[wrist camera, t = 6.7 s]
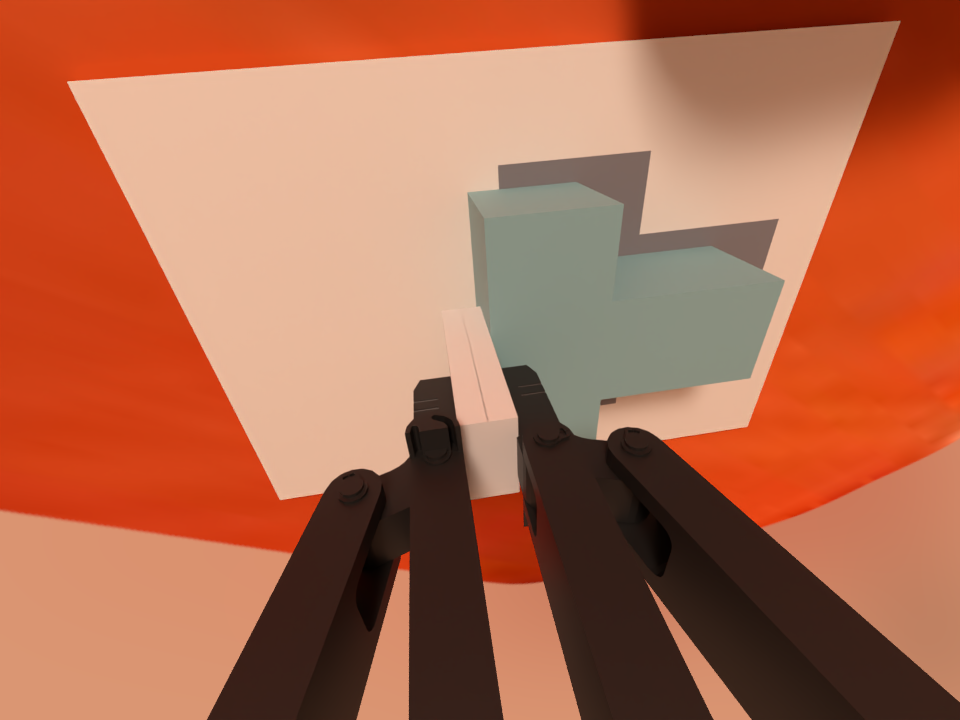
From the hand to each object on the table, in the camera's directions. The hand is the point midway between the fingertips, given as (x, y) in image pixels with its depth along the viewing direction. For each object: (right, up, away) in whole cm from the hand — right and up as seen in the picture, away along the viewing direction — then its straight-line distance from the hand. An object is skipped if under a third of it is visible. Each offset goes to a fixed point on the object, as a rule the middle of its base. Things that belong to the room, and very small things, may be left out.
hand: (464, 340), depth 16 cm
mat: (+2, +1, +2) cm, 3 cm away
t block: (+5, +2, +2) cm, 6 cm away
